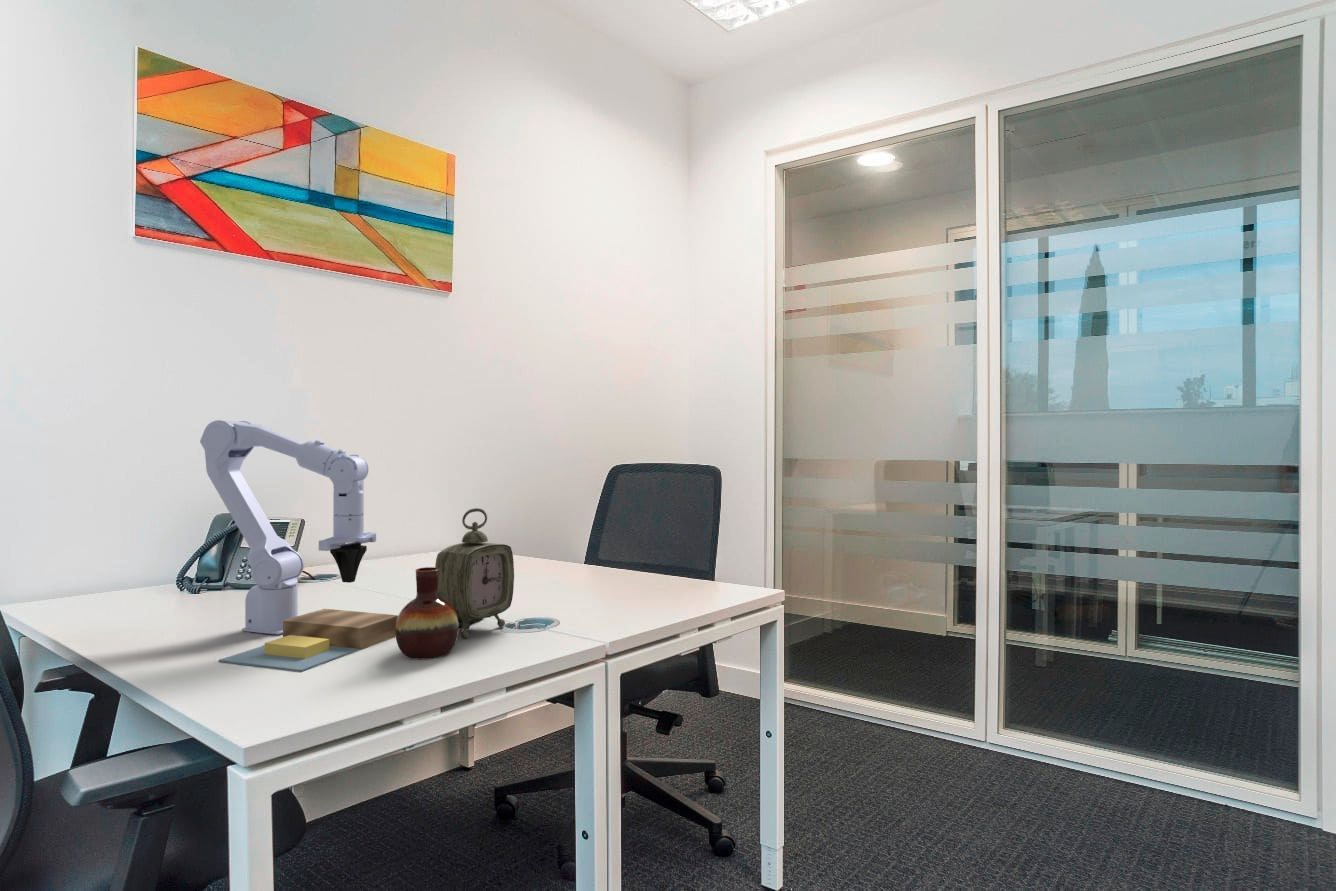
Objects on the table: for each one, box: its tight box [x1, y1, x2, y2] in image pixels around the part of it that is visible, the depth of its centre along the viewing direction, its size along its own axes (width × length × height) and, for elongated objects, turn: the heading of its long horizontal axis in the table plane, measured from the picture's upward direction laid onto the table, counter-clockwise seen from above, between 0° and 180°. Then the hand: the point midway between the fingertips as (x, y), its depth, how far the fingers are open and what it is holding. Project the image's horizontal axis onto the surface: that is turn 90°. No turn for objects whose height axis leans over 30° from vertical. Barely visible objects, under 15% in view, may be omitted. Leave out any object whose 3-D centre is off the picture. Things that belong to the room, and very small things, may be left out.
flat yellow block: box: [263, 635, 330, 659], centre depth 143 cm, size 9×6×2 cm, turn 72°
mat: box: [218, 645, 360, 673], centre depth 142 cm, size 18×14×1 cm
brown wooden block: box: [282, 608, 399, 651], centre depth 154 cm, size 18×11×4 cm, turn 72°
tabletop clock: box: [434, 507, 515, 639], centre depth 160 cm, size 14×9×25 cm, turn 151°
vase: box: [395, 566, 460, 660], centre depth 144 cm, size 11×11×15 cm
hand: (348, 581), depth 160 cm, fingers closed
